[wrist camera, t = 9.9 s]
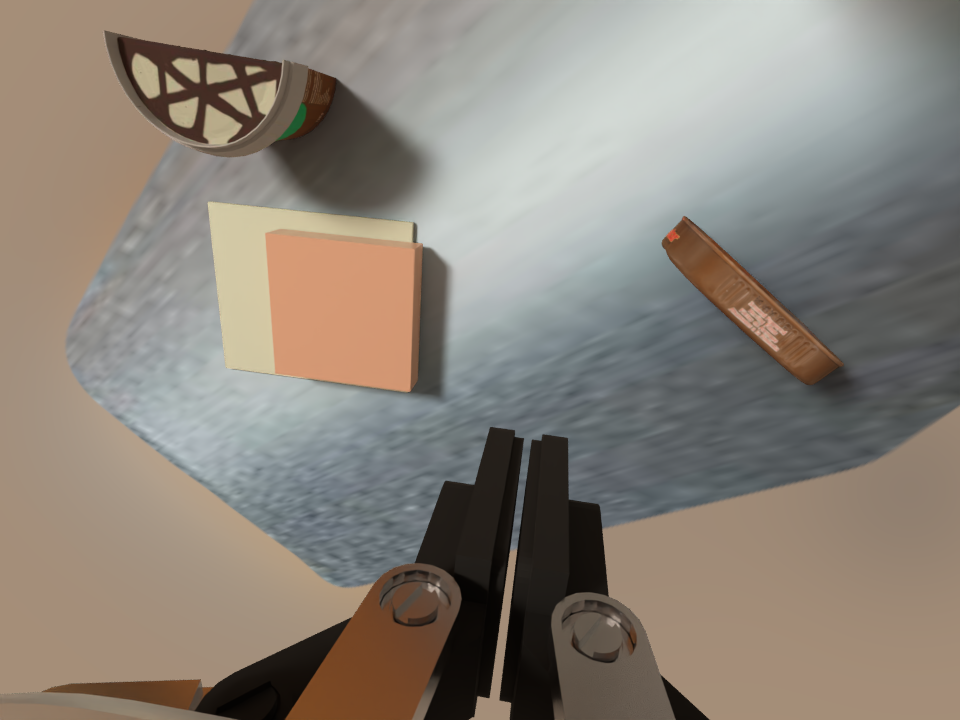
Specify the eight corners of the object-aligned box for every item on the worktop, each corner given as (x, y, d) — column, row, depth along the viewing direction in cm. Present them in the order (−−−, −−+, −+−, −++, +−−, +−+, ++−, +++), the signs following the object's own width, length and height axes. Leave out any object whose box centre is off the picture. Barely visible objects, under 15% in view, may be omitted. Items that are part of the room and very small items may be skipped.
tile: (414, 249, 41) (265, 233, 42) (410, 391, 45) (275, 373, 46) (423, 243, 43) (282, 228, 44) (418, 378, 48) (290, 361, 49)
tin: (815, 335, 42) (873, 378, 34) (782, 363, 43) (829, 410, 35) (677, 206, 40) (704, 220, 32) (645, 239, 41) (664, 259, 33)
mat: (413, 222, 43) (412, 222, 43) (408, 390, 49) (407, 392, 48) (210, 201, 45) (207, 202, 45) (228, 366, 51) (225, 367, 50)
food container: (203, 141, 43) (105, 140, 34) (200, 55, 41) (94, 28, 32) (350, 167, 42) (290, 173, 33) (355, 81, 40) (292, 61, 31)
